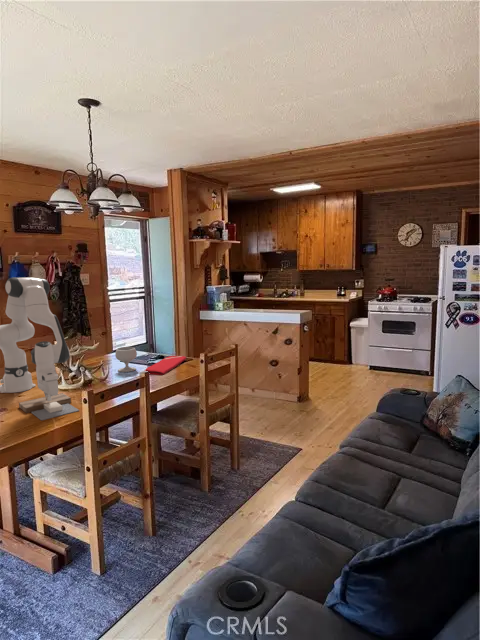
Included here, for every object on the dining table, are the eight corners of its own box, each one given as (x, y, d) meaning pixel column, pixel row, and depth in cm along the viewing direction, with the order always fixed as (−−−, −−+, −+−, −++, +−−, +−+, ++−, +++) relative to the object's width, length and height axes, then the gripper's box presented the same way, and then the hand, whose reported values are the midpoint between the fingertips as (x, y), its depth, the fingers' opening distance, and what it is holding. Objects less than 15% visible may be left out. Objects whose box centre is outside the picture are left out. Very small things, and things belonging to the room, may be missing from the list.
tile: (44, 408, 217) (43, 404, 217) (56, 405, 221) (55, 401, 221) (50, 412, 210) (49, 408, 210) (62, 409, 214) (62, 405, 214)
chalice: (141, 369, 291) (140, 348, 289) (123, 374, 281) (122, 351, 279) (130, 366, 301) (129, 345, 299) (112, 370, 291) (110, 348, 289)
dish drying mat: (141, 374, 280) (140, 369, 280) (167, 360, 320) (167, 355, 319) (163, 375, 276) (163, 370, 276) (187, 360, 316) (187, 356, 315)
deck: (19, 407, 221) (18, 402, 220) (62, 397, 235) (62, 393, 235) (26, 413, 212) (25, 408, 212) (71, 402, 226) (70, 397, 226)
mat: (31, 412, 212) (31, 411, 212) (68, 403, 224) (67, 403, 224) (41, 420, 201) (41, 419, 201) (79, 410, 213) (79, 410, 213)
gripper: (33, 371, 223) (35, 397, 225) (46, 378, 208) (48, 406, 210) (45, 369, 227) (48, 394, 229) (59, 376, 212) (62, 403, 214)
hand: (48, 400), depth 219 cm, fingers closed
